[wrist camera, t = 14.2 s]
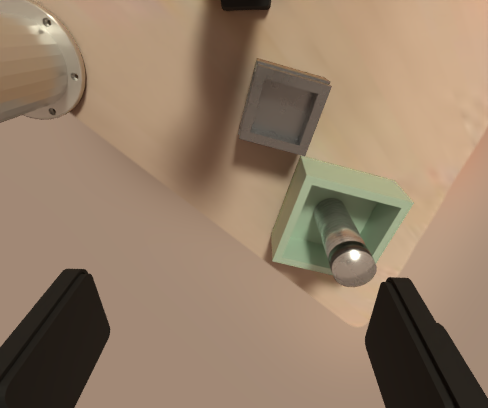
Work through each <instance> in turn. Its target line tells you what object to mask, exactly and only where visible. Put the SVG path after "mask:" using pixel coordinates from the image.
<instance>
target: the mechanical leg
mask: <svg viewBox="0 0 488 408" xmlns="http://www.w3.org/2000/svg"><path fill="white" fill-rule="evenodd" d="M221 4H222V9H223V10H226V11H230V10H265V9H269V8H270V5H271V0H221Z"/></svg>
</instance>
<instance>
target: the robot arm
mask: <svg viewBox="0 0 488 408" xmlns="http://www.w3.org/2000/svg"><path fill="white" fill-rule="evenodd" d="M50 21H51V24H50ZM77 75H78V77H77ZM85 76H86V75H85V68H84V62H83V59H82V56H81V53H80V50H79V48H78V46H77V44H76V42H75V40H74V39H73V37H72V36H71V34H70V33H69V31H68V30H67V28H66V27H65V26H64V25H63V24H62V23H61V22H60V20H59V19H58V18H56V17H55V16H54V15H53V14H52V13H51V12H49V11H48V10H47V9H45V8H43V7H42V6H40V5H39V4H37V3H35V2H32V1H30V0H0V123H1V122H4V121H7V120H9V119H12V118H15V117H18V116H20V115H24V116H27V117H30V118H35V119H53V118H57V117H60V116H62V115H64V114H67V113H68V112H70V111H71V110H73V109H74V108H75V106H76V105H77V104H78V103H79V101H80V99H81V97H82V95H83V92H84V88H85ZM109 335H110V326H109V323H108V320H107V318H106V314H105V312H104V309H103V306H102V303H101V300H100V297H99V294H98V291H97V288H96V286H95V283H94V280H93V277H92V275H91V274H88V272H87V271H86V270H85V269H65V270H64V271H63V272H62V273H61V274H60V275H59V276H58V277H57V279H56V280H55V281H54V282H53V284H52V285H51V286H50V287H49V289H48V290H47V291H46V292H45V293H44V295H43V296H42V297H41V298H40V299H39V301H38V302H37V303H36V304H35V306H34V307H33V308H32V310H31V311H30V312H29V313H28V314H27V315H26V317H25V318H24V319H23V320H22V321H21V323H20V324H19V325H18V326H17V328H16V329H15V330H14V331H13V332H12V334H11V335H10V336H9V338H8V339H7V340H6V341H5V342H4V344H3V345H2V346H1V347H0V408H74V407H75V405H76V403H77V401H78V399H79V397H80V395H81V393H82V391H83V389H84V387H85V385H86V383H87V381H88V379H89V377H90V375H91V373H92V371H93V369H94V367H95V365H96V363H97V361H98V359H99V357H100V355H101V353H102V350H103V348H104V346H105V344H106V342H107V340H108V338H109ZM365 345H366V349H367V352H368V355H369V358H370V361H371V364H372V368H373V370H374V373H375V376H376V379H377V383H378V386H379V389H380V392H381V395H382V398H383V401H384V404H385V407H386V408H488V398H487V397H486V395H485V393H484V392H483V390H482V388H481V387H480V385H479V384H478V382H477V380H476V378H475V377H474V375H473V374H472V372H471V371H470V369H469V367H468V366H467V364H466V362H465V361H464V359H463V357H462V356H461V354H460V352H459V351H458V349H457V347H456V346H455V344H454V343H453V341H452V339H451V338H450V336H449V334H448V333H447V331H446V330H445V329H444V327H443V326H442V325H440V324H439V323H436V321H435V320H434V318H433V316H432V315H431V313H430V311H429V310H428V308H427V306H426V305H425V303H424V301H423V300H422V298H421V296H420V295H419V293H418V291H417V290H416V288H415V286H414V285H413V283H412V281H411V280H410V279H409V278H393V277H389V278H388V279H387V280H386V282H382V283H381V285H380V288H379V291H378V295H377V298H376V302H375V305H374V308H373V312H372V315H371V319H370V322H369V326H368V329H367V332H366V336H365Z"/></svg>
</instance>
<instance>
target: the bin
mask: <svg viewBox="0 0 488 408" xmlns="http://www.w3.org/2000/svg"><path fill="white" fill-rule="evenodd" d="M328 198H335V199H338V200H340V201H342V202H343V203H344V205H345V207H346V209H347V211H348V212H349V214H350V216H351V218H352V220H353V222H354V224H355V226H356V228H357V230H358V231H359V233H360V235H361V237H362V239H363V241H364V243H365V245H366V247H367V248H368V249H369V251H370V253H371V255H372V257H373V259H374V262H375V264H376V263H377V261H378V259H379V258H380V256H381V255H382V253H383V251H384V250H385V248H386V247H387V245H388V243H389V242H390V240H391V239H392V237H393V236H394V234H395V232H396V231H397V229H398V228H399V226H400V224H401V223H402V221H403V220H404V218H405V216H406V215H407V213H408V212H409V210H410V209H411V207H412V205H413V204H414V202H413V201H412V200H411V199H410V198H409V197H408V196H407V194H406V193H405V192H404V191H403V190H402V189H401V188H400V186H399V185H398V184H397V183H396V182H395V181H394V180H390V179H387V178H383V177H379V176H375V175H372V174H368V173H364V172H360V171H357V170H353V169H349V168H345V167H342V166H338V165H334V164H330V163H327V162H323V161H319V160H315V159H312V158H308V157H304V156H300V159H299V161H298V164H297V167H296V169H295V172H294V175H293V177H292V180H291V183H290V185H289V188H288V191H287V193H286V196H285V199H284V201H283V204H282V207H281V209H280V212H279V215H278V217H277V220H276V223H275V225H274V228H273V231H272V233H271V245H272V261H273V262H278V263H282V264H286V265H291V266H295V267H299V268H303V269H308V270H312V271H316V272H320V273H325V274H329V275H333V274H332V271H331V268H330V265H329V262H328V258H327V255H326V252H325V249H324V246H323V242H322V239H321V236H320V233H319V230H318V227H317V224H316V221H315V218H314V209H315V207H316V205H317V204H318V203H319V202H321V201H322V200H324V199H328Z"/></svg>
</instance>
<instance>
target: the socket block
mask: <svg viewBox="0 0 488 408" xmlns="http://www.w3.org/2000/svg"><path fill="white" fill-rule="evenodd" d="M329 84H330V81H329V80H327V79H326V78H324V77H320V76H317V75H314V74H310V73H307V72H303V71H300V70H296V69H293V68H289V67H286V66H283V65H279V64H276V63H272V62H269V61H265V60H262V59H259V58H257V60H256V64H255V68H254V72H253V76H252V80H251V84H250V88H249V92H248V96H247V100H246V103H245V107H244V111H243V115H242V119H241V123H240V127H239V132H238V135H240V136H239V139H242V140H246V141H249V142H253V143H257V144H261V145H264V146H268V147H272V148H276V149H280V150H283V151H287V152H291V153H295V154H298V155H302V156H305V155H306V152H307V150H308V147H309V144H310V142H311V139H312V137H313V134H314V131H315V129H316V126H317V124H318V121H319V118H320V116H321V113H322V110H323V108H324V105H325V103H326V100H327V97H328V95H329V92H330V90H331V87H332V86H331V85H329Z"/></svg>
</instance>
